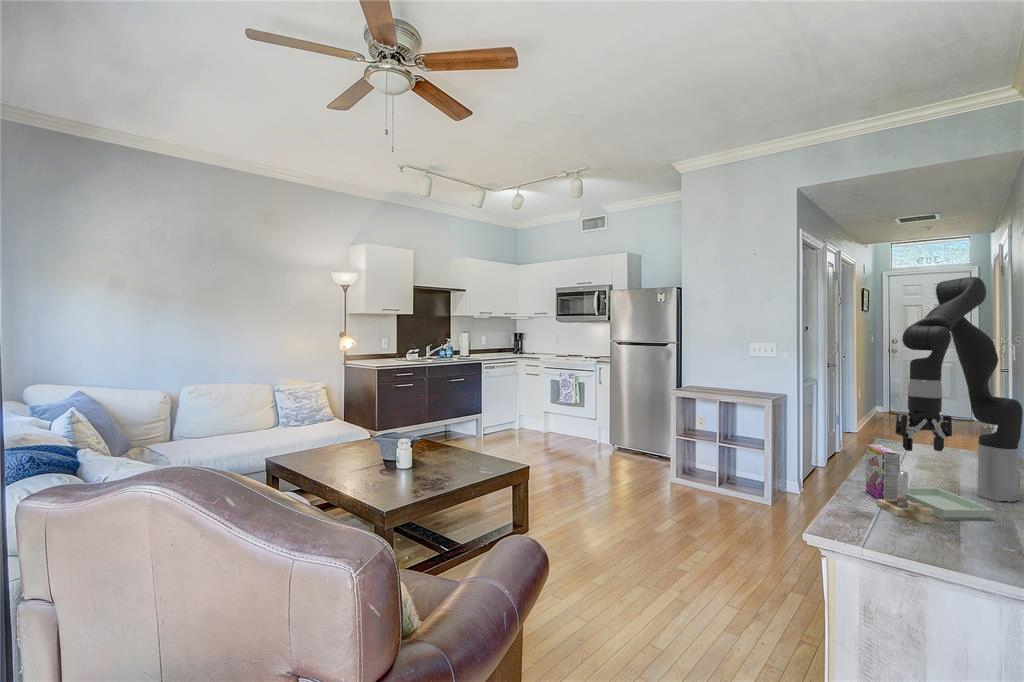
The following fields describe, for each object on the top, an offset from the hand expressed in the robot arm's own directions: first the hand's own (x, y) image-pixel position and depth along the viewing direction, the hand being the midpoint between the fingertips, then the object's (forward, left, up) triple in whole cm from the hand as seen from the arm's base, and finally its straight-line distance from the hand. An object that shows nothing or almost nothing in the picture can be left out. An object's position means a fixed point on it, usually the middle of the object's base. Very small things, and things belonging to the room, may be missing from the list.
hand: (922, 450), depth 142 cm
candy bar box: (-3, -19, -21) cm, 28 cm away
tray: (-14, -10, -21) cm, 27 cm away
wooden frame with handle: (0, -5, -20) cm, 21 cm away
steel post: (0, -7, -21) cm, 22 cm away
